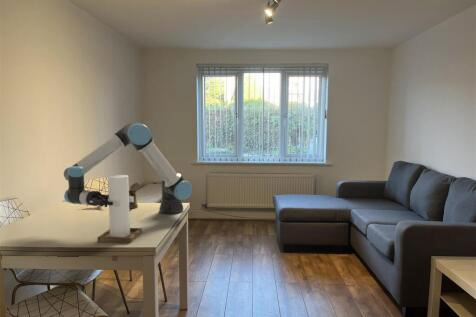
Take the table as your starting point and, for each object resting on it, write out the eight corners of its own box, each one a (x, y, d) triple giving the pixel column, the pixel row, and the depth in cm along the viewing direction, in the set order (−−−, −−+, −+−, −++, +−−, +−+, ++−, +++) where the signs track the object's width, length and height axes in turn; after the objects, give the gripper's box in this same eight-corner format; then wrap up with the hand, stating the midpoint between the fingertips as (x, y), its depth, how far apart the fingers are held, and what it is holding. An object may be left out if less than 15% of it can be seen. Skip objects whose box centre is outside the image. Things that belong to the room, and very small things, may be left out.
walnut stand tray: (111, 232, 190) (111, 227, 190) (141, 232, 189) (141, 228, 189) (97, 242, 174) (97, 237, 174) (130, 243, 173) (130, 237, 173)
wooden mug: (130, 211, 236) (129, 183, 234) (121, 207, 246) (120, 181, 244) (143, 208, 242) (142, 181, 240) (133, 205, 252) (133, 179, 250)
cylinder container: (119, 239, 175) (116, 177, 172) (106, 235, 180) (103, 175, 177) (134, 234, 183) (132, 174, 180) (121, 231, 188) (119, 173, 185)
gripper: (107, 200, 198) (141, 204, 189) (74, 210, 177) (110, 214, 169) (106, 187, 197) (140, 190, 188) (73, 194, 176) (109, 198, 168)
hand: (126, 201), depth 178 cm, fingers open, 10 cm apart
